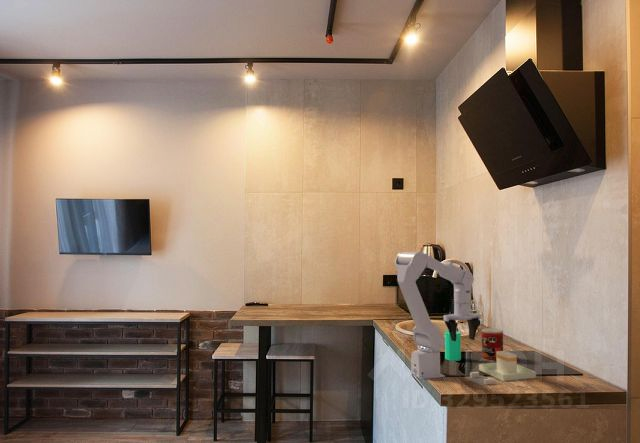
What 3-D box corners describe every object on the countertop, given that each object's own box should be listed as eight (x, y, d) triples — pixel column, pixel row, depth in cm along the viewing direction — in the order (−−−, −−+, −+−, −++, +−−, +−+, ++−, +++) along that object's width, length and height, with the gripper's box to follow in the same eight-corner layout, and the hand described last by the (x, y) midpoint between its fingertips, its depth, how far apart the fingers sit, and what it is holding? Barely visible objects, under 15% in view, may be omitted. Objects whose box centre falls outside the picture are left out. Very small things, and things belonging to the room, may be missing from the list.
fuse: (508, 376, 151) (507, 355, 151) (496, 371, 157) (496, 351, 157) (517, 375, 152) (516, 354, 152) (505, 370, 158) (504, 350, 158)
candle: (461, 361, 172) (461, 330, 173) (445, 360, 174) (445, 329, 174) (460, 357, 178) (459, 327, 179) (444, 356, 180) (444, 326, 180)
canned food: (477, 356, 180) (477, 328, 180) (493, 354, 182) (493, 327, 183) (491, 361, 172) (490, 332, 173) (507, 359, 175) (507, 331, 176)
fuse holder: (480, 387, 142) (480, 380, 142) (464, 378, 151) (464, 372, 151) (499, 385, 144) (499, 378, 144) (482, 377, 153) (481, 370, 153)
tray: (503, 382, 147) (503, 375, 147) (479, 371, 159) (478, 364, 159) (536, 379, 150) (536, 371, 150) (509, 368, 163) (509, 361, 163)
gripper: (450, 304, 158) (451, 343, 157) (486, 303, 161) (486, 341, 161) (440, 302, 164) (440, 339, 164) (474, 300, 168) (474, 336, 168)
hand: (462, 339), depth 163 cm, fingers open, 7 cm apart
